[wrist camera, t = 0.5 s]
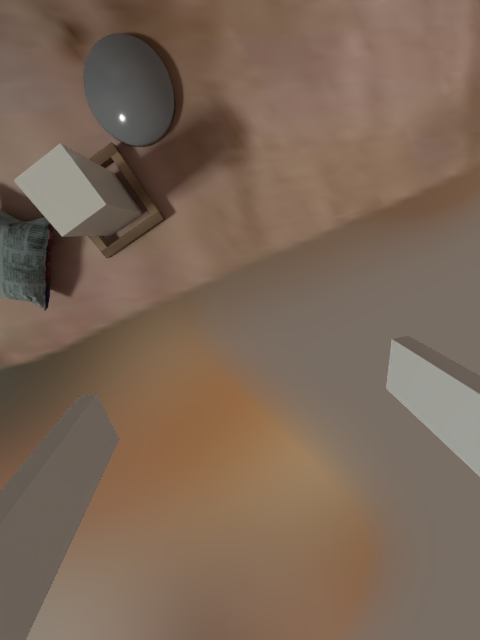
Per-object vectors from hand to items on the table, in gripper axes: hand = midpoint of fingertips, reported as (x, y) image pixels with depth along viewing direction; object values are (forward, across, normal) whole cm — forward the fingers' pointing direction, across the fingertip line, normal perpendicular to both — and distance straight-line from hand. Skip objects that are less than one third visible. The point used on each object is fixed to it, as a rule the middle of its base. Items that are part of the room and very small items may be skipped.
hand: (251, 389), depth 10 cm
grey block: (+24, -12, +12) cm, 30 cm away
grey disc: (+24, -7, +21) cm, 33 cm away
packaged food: (+25, -26, +8) cm, 36 cm away
